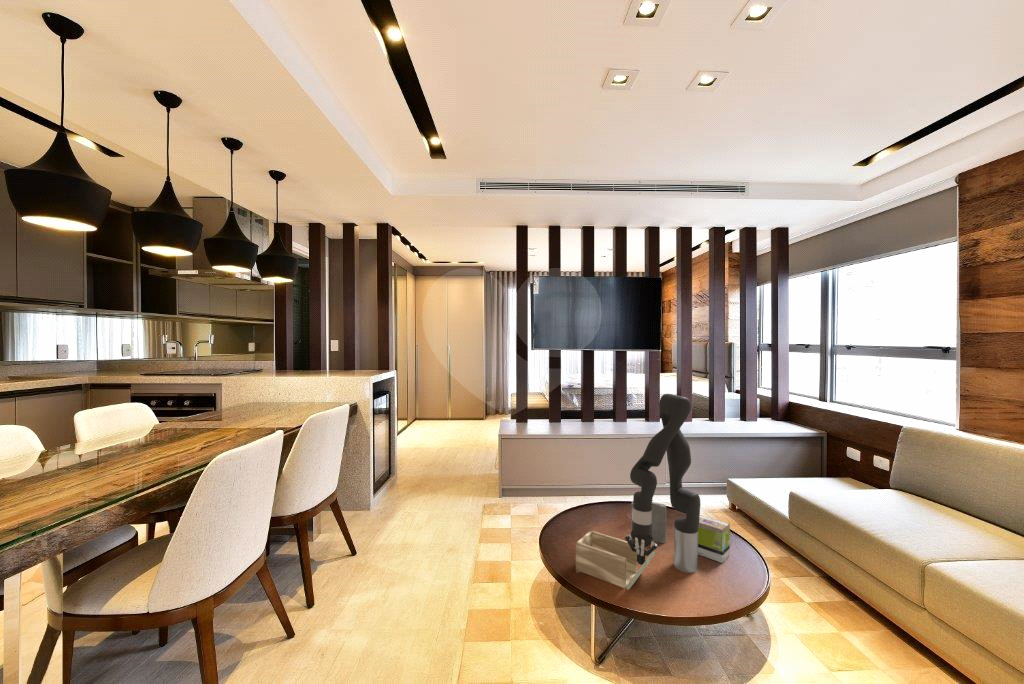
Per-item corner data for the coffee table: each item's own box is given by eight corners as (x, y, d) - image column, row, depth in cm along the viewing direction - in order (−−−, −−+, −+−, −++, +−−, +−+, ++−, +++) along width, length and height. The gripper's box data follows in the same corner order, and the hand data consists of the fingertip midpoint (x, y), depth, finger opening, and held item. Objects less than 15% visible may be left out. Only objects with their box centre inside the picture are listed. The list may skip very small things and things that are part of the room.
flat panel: (638, 571, 170) (653, 550, 166) (641, 573, 169) (655, 552, 166) (625, 587, 159) (641, 566, 155) (628, 590, 158) (644, 568, 155)
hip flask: (631, 540, 199) (631, 498, 199) (630, 536, 203) (631, 495, 203) (666, 543, 196) (666, 501, 196) (664, 539, 200) (665, 498, 200)
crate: (590, 558, 183) (590, 530, 183) (637, 574, 170) (637, 544, 170) (575, 572, 172) (575, 542, 171) (624, 591, 159) (625, 559, 159)
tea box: (730, 555, 186) (730, 522, 185) (722, 564, 179) (722, 530, 178) (696, 543, 196) (696, 512, 196) (687, 551, 189) (687, 519, 189)
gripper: (662, 521, 161) (660, 565, 161) (629, 512, 169) (627, 554, 169) (656, 528, 155) (654, 574, 155) (622, 518, 163) (620, 561, 163)
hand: (640, 563), depth 162 cm, fingers closed
